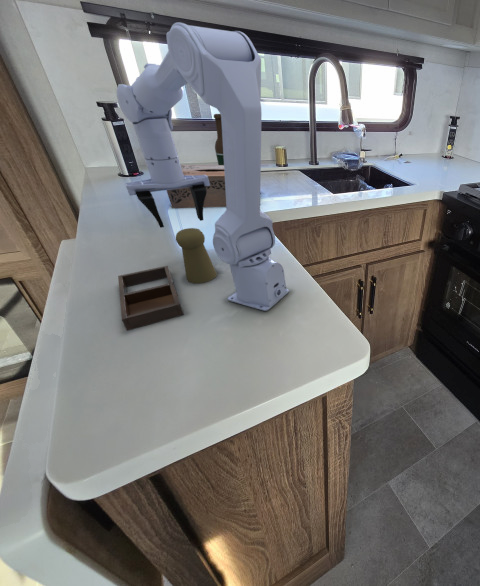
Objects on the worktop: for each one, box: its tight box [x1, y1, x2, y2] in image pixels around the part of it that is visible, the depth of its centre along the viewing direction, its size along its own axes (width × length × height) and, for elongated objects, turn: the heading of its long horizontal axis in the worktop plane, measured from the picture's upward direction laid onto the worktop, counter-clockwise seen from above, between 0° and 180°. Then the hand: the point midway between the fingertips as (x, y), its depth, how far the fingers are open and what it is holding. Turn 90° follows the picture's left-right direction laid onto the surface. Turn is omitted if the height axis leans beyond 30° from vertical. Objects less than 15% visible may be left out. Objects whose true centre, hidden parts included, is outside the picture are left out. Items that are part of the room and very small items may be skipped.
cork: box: [175, 227, 218, 284], centre depth 71 cm, size 6×6×11 cm
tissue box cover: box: [166, 164, 227, 209], centre depth 113 cm, size 26×14×10 cm, turn 104°
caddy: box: [117, 265, 184, 331], centre depth 65 cm, size 17×9×2 cm, turn 36°
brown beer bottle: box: [213, 113, 224, 165], centre depth 127 cm, size 8×8×24 cm
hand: (181, 222), depth 73 cm, fingers open, 7 cm apart
